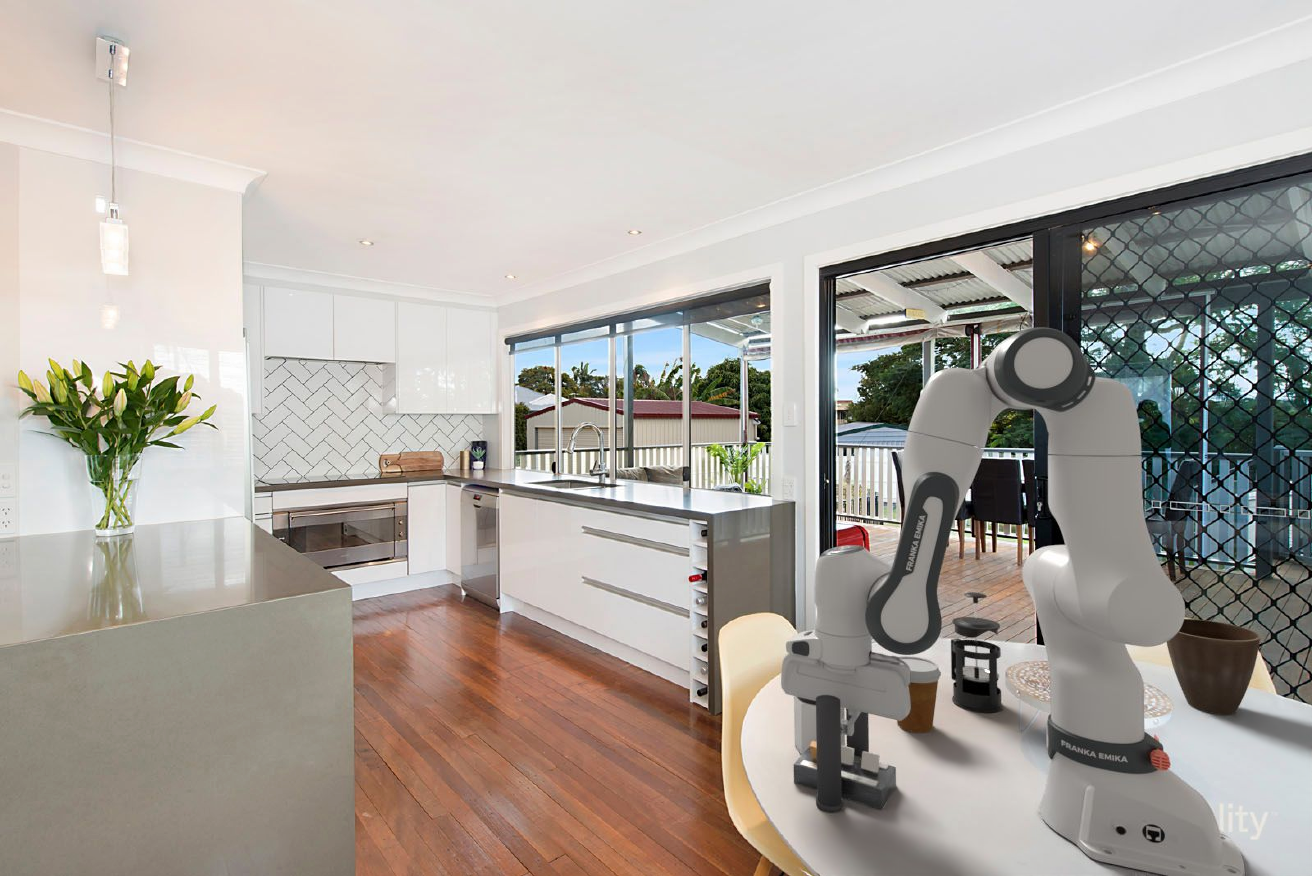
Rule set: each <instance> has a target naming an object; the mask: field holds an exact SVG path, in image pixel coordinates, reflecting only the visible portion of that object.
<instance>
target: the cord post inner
mask: <svg viewBox="0 0 1312 876" xmlns="http://www.w3.org/2000/svg"><path fill="white" fill-rule="evenodd" d="M845 711H846V712H845V715H846V716H845V717H846V718H845V720H850V719H851V717H852V716H851V715H849V714H848V709H847V708H845ZM869 726H870V725H869V714H868V713H864V712H861V713H860V715H859V716H858V718H857V719H856V721H855V722H854V733H853V735H852V736H849V735H846V747H850V748H854V755H855V756H859V757H862V752H863V751H865V752H869V753H870V740H869V739H870V738H869V735H870V734H869V731H870V730H869V729H870V728H869Z"/></svg>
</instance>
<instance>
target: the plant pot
mask: <svg viewBox="0 0 1312 876" xmlns="http://www.w3.org/2000/svg"><path fill="white" fill-rule="evenodd" d="M1260 642H1261V635H1260V634H1259V633H1258V632H1256V631H1254V630H1251V629H1249V628H1246V627H1242V626H1238V625H1235V624H1230V623H1227V622H1226V623H1225V622H1220V621H1212V620H1207V619H1205V620H1204V619H1195V618H1184V621H1183V624H1182V626H1181V628H1180V630H1179V631H1178V633H1177V634H1176V635H1175V636H1174V637H1173V638H1172V639H1170V640H1169V641H1167V642H1166V646H1167V650H1168V655H1169V657H1170V661H1171V665H1172V668H1173V671H1174V673H1175V675H1176V678H1177V681H1178V683H1179V687H1180V688H1181V689H1180V690H1181V691H1182V693H1183V695H1184V697H1185V700H1186V703H1187V704H1188V705H1189V706H1191V707H1192V708H1193V709H1196V710H1199V711H1202V712H1205V713H1210V714H1214V715H1221V716H1223V715H1225V716H1227V715H1231V716H1232V715H1234V714H1236V712H1237V711H1238V709H1239V707H1240V705H1241V703H1242V701H1243V699H1244V697H1245V694H1246V692H1247V690H1248V689H1249V688H1248V687H1249V685H1250V682H1251V680H1252V676H1253V674H1254V670H1255V666H1256V662H1257V658H1258V654H1259V649H1260Z"/></svg>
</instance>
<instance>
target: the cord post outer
mask: <svg viewBox="0 0 1312 876" xmlns="http://www.w3.org/2000/svg"><path fill="white" fill-rule="evenodd" d="M816 742H817V791H816V796H815V804H816V807H817V809H819V810H821V811H822V812H826V813H829V814H830V813H832V814H833V813H834V814H835V813H839V812H841V811H842V810H843V809H844V798H842V780H841V711H840V699H839V698H837V697H835V696H831V695H820V696H818V697H816Z"/></svg>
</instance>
